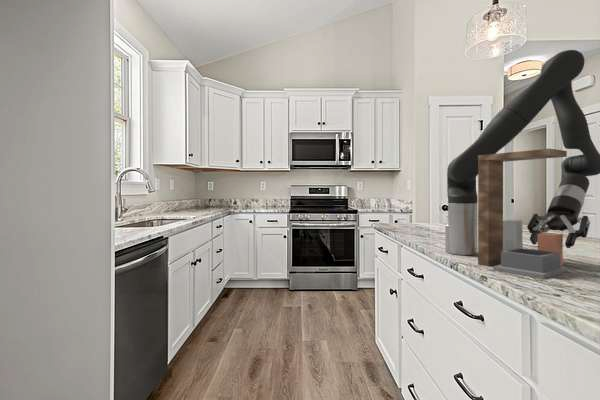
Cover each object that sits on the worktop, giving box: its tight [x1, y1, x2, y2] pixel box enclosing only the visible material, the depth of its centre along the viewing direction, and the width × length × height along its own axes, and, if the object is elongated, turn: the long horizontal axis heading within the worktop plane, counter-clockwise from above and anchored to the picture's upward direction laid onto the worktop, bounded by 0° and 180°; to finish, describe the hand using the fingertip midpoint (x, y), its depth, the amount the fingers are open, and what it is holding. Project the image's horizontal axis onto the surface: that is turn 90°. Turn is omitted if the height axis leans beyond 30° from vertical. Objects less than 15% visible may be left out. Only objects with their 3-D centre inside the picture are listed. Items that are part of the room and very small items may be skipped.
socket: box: [492, 248, 568, 280], centre depth 94 cm, size 12×14×5 cm
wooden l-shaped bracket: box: [477, 148, 568, 267], centre depth 97 cm, size 18×10×32 cm, turn 34°
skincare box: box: [503, 219, 524, 251], centre depth 113 cm, size 6×4×12 cm
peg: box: [537, 232, 564, 267], centre depth 101 cm, size 4×4×9 cm
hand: (549, 244), depth 101 cm, fingers open, 8 cm apart
